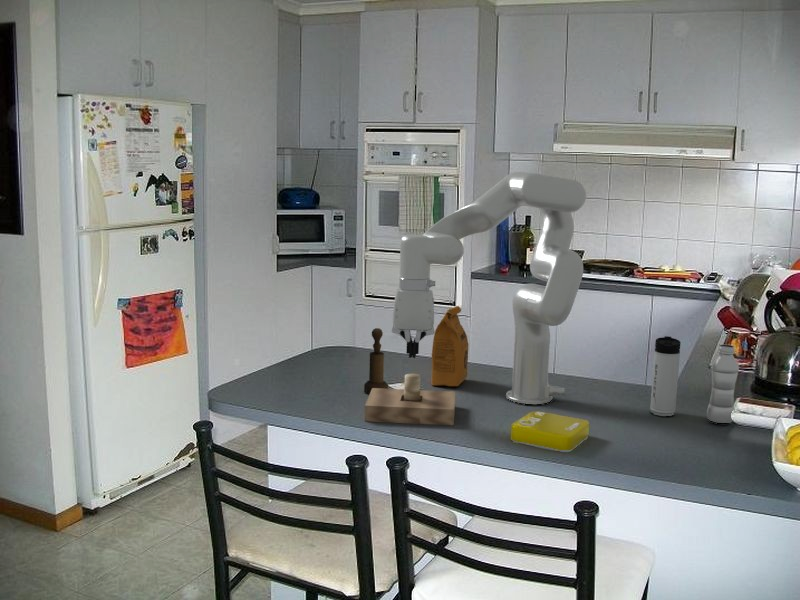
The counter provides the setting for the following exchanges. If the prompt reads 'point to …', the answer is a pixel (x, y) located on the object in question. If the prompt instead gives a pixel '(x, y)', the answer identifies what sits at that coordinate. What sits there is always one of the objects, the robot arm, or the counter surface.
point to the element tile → (550, 430)
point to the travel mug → (665, 375)
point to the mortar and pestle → (376, 365)
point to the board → (410, 407)
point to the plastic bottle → (723, 385)
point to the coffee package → (449, 351)
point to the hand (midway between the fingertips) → (412, 356)
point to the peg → (412, 387)
